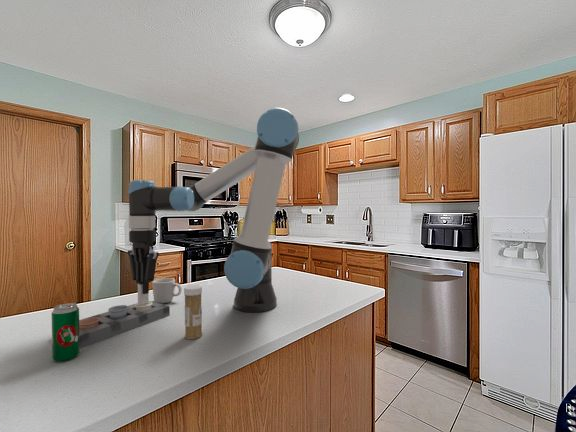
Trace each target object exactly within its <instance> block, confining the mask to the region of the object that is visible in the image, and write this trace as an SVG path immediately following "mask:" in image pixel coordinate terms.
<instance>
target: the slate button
mask: <svg viewBox="0 0 576 432" xmlns="http://www.w3.org/2000/svg"><path fill="white" fill-rule="evenodd" d="M128 306H129V305H126V304H125V305H124V304H121V305H115V306H111V307H109V308H108V309H107V312H108V311H109V312H110V319H113V320H116V319H119V318H122V317H125V316H127V309H128Z"/></svg>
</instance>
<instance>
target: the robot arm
mask: <svg viewBox="0 0 576 432" xmlns="http://www.w3.org/2000/svg"><path fill="white" fill-rule="evenodd" d="M256 124H257V125H256V134H257V139H256V141H255V145H254V146H252V147H250V149H248V150H246V151H244V152H243V153H241V154H240V155H238V156H237V157H235V158H234V159H232V160H231V161H229V162H227V163H225V164H224V165H223V166H221V167H219V168H217V169H216V170H215V171H212V172H211V173H210V174H208V175H207V176H205V177H204V178H201V180H199V181H197V182H195V183H194V184H192V185H191V186H189V187H188V186H161V187H160V186H157V185H156V182H155V181H153V180H147V179H146V180H145V179H144V180H143V179H133V180H131V181H130V182H129V185H128V209H129V212H128V213H129V214H128V215H129V216H128V228H129V229H130V230H129V232H128V238H129V239H128V240H129V242H130V243H132V249H130V250H129V249H128V250H127V254H128V259H129V264H130V269H131V270H130V271H131V277H132V281H135V282H136V286H137V288H136V289H137V291H136V292H137V303H138V304H139V305H142V304H146V303H149V301H150V300H149V297H150V296H149V295H150V294H149V292H150V283H152V281H154V280H155V273H156V267H157V261H158V258H159V256H160V253H159V251H156V252H155V250H154V245H153V244H154V242H156V238H157V237H156V236H157V235H156V234H157V232H156V230H155V228H156V211H157V212H158V211H162V212H163V211H164V212H173V211H174V212H175V211H176V212H186V211H187V212H194V211H198V210H200V209H202V208H203V207H204V205H205V204H206V203H208V202H209V201H210V200H212V199H213V198H215V197H217V196H218V195H220V194H221V193H223V192H225V191H226V190H228V189H230V188H232V187H233V186H234V185H236V184H238V183H239V182H242V181H243V180H244V179H246V178H247V177H249V176H250V175H251V176H252V174H253V179H252V183H251V188H250V192H249V197H248V199H247V200H248V201H247V205H246V209H245V214H244V217H243V222H242V226H241V231H240V234H239V235H238V236H236V237H235V238H233V242H232V247H231V252H230V254H229V255H228V257H227V258H226V260H225V262H224V266H223V267H224V269H223V270H224V275H225V278H226V279H227V281H228V282H229V283H230V284H231V285H232V286H233V287H235V288H237V289H236V292H235V297H234V298H233V307H234V309H236V310H238V311H240V312H246V313H258V312H259V313H260V312H266V311H270V310H272V309H275V308H276V307H277V305H278V304H277V303H278V302H277V296H276V293H275V290H274V289H275V288H274V285H273V284H272V278H273V276H272V274H273V273H272V270H273V269H272V267H273V266H272V262H273V261H272V252H273V248H272V242H270V241H268V240H269V237H270V234H271V233H270V232H271V228H272V224H273V220H274V215H275V210H276V207H277V203H278V198H279V194H280V191H281V190H280V189H281V187H282V181H283V176H284V172H285V169H286V165H288V164H289V163H291V162H292V161H293V156H294V151H295V150H296V149H297V147H298V145H299V142H300V135H299V125H298V124H299V123H298V121H297V119H296V117H295V116H294V114H293V113H291V111H289V110H288V109H286V108H282V107H273V108H270V109H268V110H266V111H264V112H263V113H262V114H261V115H260V116H259V119H258V121H257V123H256Z"/></svg>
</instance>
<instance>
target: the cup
mask: <svg viewBox="0 0 576 432" xmlns="http://www.w3.org/2000/svg"><path fill="white" fill-rule="evenodd" d="M151 286H152V294H153V300H154V301H153V302H155V303H159V304H166V303H170V302H172V301H173V300H174V297H178V296H180V295H181V294H182V291H183V290H182V286H181V284H180V283H177V282H176V279H175V278H173V277H163V278H156V279H154V281H152V282H151ZM176 287H177V288H178V292H175V290H176Z"/></svg>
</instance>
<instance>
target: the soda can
mask: <svg viewBox="0 0 576 432" xmlns="http://www.w3.org/2000/svg"><path fill="white" fill-rule="evenodd" d="M79 320H80V307H79V306H78V303H74V302H70V303H62V304H59V305H56V306H54V307H53V310H52V312H51V348H52V349H51V350H52V351H51V354H52V355H51V356H52V357H51V358H52V360H53V361H54V362H56V363H64V362H67V361H71V360H74V359H75V358H76V357H78V356H79V355H80V353H81V348H80V331H79Z"/></svg>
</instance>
